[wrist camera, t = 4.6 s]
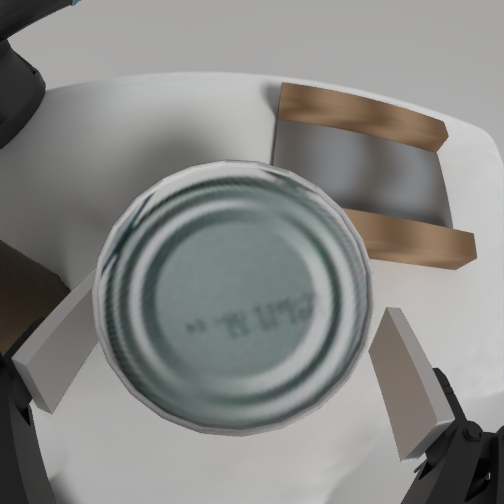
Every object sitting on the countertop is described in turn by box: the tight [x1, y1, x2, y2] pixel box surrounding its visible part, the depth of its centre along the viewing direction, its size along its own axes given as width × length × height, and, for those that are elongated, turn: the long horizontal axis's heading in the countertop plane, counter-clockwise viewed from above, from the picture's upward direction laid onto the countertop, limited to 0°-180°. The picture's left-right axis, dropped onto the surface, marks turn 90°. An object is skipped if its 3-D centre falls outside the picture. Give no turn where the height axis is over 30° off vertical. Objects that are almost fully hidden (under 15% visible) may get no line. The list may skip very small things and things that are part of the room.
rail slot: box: [273, 82, 477, 270], centre depth 22 cm, size 16×14×3 cm
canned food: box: [92, 160, 375, 437], centre depth 13 cm, size 8×8×12 cm
